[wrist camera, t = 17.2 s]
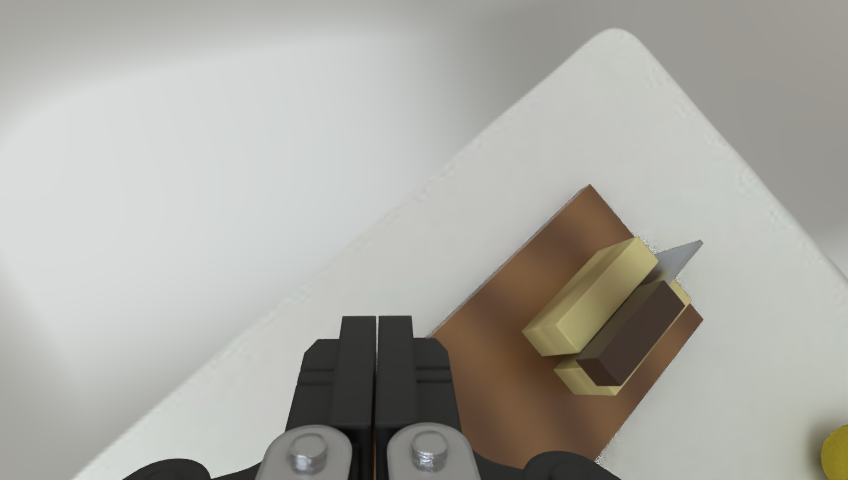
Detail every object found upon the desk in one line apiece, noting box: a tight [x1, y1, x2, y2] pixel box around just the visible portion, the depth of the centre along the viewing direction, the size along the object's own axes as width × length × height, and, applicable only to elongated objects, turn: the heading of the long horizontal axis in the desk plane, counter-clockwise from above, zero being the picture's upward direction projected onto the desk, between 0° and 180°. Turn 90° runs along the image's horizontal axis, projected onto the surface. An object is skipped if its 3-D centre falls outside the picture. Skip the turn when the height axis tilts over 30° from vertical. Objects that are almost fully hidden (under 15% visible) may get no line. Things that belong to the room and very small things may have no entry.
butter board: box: [374, 184, 703, 480], centre depth 32 cm, size 24×12×5 cm, turn 133°
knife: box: [575, 240, 703, 386], centre depth 32 cm, size 11×2×7 cm, turn 133°
